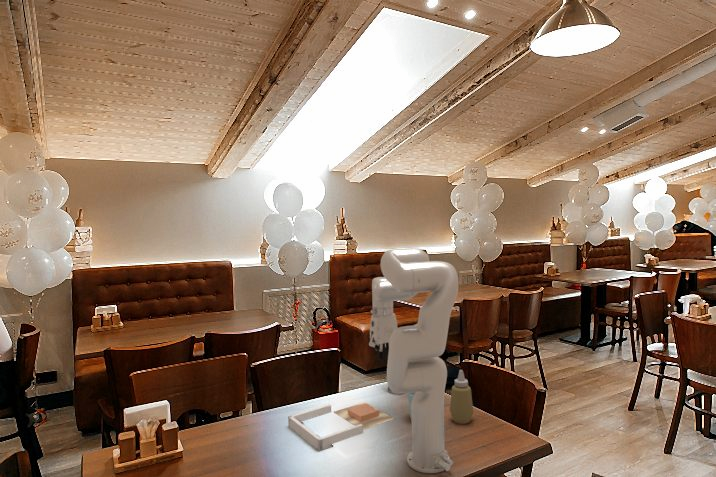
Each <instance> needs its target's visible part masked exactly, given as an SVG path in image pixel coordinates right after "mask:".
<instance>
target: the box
mask: <svg viewBox="0 0 716 477" xmlns="http://www.w3.org/2000/svg"><path fill="white" fill-rule="evenodd" d="M330 413H332V405H331V404H326V405H323V406H319V407H316V408H312V409H308V410H305V411H303V412H300V413H296V414H292V415H289V416H288V417H287V418H288V427H289V429H291V430H292V431H294V432H295V433H296V434H297V435H299V436H300V437H301V438H302V439H304V440H305V441H306V442H308V444H309V445H311V446H312V447H313V448H315V449H316V450H317V451H319V452H321V451H323V450H326V449H329V448H333V447H334V444H335V443H338V442H341V441H344V440H347V439H349V438H352V437H355V436H358V435H361V434H363V433H364V430H363V425H362V424H359V425H356V426H354V425H353V426H350V427H348V428H345V429H342V430H339V431H337V432H333V433H331V434H327V435H325V436H319V435H318V434H317V433H315V432H314V431H313V430H311V429H310V428H308V427H307V426H306V425H304V422H305V421H307V420H310V419H314V418H317V417H320V416H323V415H326V414H330Z"/></svg>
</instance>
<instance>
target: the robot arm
mask: <svg viewBox="0 0 716 477" xmlns="http://www.w3.org/2000/svg"><path fill="white" fill-rule="evenodd" d="M380 271H381V273H382V275H383V276H377V277H374V278H372V280H371V281H372V282H371V292H372V294H371V295H372V297H371V298H372V302H371V303H372V309H371V310H370V314H372V315H371V316H370V324H369V342H368V346H369V347H372V348H374V349H375V351H376V359H377V361H378V362H380V363H384V362H385V360H387V364H386V367H387V368H386V382H387V387H388V386H389V388H390V390H391V391H392V392H394V393H396V395H402V394H407V393H411V392H415V394H414V397H413V399H412V404H411V417H410V420H411V451H410V452H409V453H408V454H407V456H406V461H407V462H406V463H407V465H408V466H409V467H410V468H411V469H412V470H414V471H415V472H416V471H417V472H419V473H424V474H436V473H437V474H438V473H440V472H441V473H442V472H444V471H446V472H449V471H450V470H451V466H452V465H453V464H454V460H453V459H451V458H450V456H449V454H448V451H447V450H446V449H445V390H446V384H447V378H448V370H447V365H446V363H445V360H443V359H442V358H441V356H442V355H443V354H444V352H445V350H446V346H447V340H448V334H449V326H450V320H451V314H452V311H453V308H454V305H455V304H456V303H455V302H456V300H457V297H458V292H459V276H458V272H457V270H456V268H455V267H454V266H453V264H451V263H449V262H447V261H441V260H430V257H429V255H428V254H427V252H425V251H424V250H423V249H419V248H414V247H413V248H409V247H408V248H396V249H393V248H392V249H389V250H386V251H385V252H384V253H383V254H382V256H381V258H380ZM430 292H431V294H430V295H429V296H428V297H427V298H426V299H425V301H424V302H423V303H422V305H421V307H420V308H419V312H418V318H417V319H418V321H417V323H416V324H413V325H406V326H400V327H398V321H397V320H398V319H397V317H396V313H394V302H398V301H408V300H411V299H412V298H414V297H415V296H416V295H417V294H419V293H420V294H421V293H430ZM383 345H384V346H383ZM383 347H384V348H383ZM394 393H393V394H394Z"/></svg>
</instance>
